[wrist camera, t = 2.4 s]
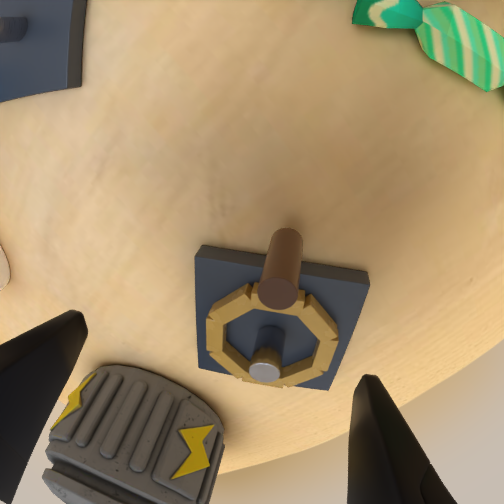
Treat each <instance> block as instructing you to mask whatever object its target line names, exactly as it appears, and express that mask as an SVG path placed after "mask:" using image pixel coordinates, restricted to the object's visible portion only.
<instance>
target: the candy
mask: <svg viewBox="0 0 504 504" xmlns="http://www.w3.org/2000/svg"><path fill="white" fill-rule="evenodd" d="M352 24H360V25H368V26H376V27H383V28H410V29H414V30H415V33H416V35H417V38H418V40H419V43H420V45H421V48H422V50H423V51H424V52H425V53H426V54H427V56H428V57H429V58H431V59H433V60H435V61H437V62H439V63H440V64H442V65H444V66H446V67H447V68H449V69H451V70H453V71H454V72H456V73H458V74H459V75H461V76H463V77H464V78H466V79H467V80H469V81H471V82H472V83H474V84H475V85H477V86H478V87H480V88H481V89H483V90H484V91H486V92H488V91H490V90H493V89H496V88H498V87H501V86H504V38H503V37H502V36H501V35H499V34H498V33H497V32H495V31H494V30H492V29H491V28H490V27H488V26H487V25H485V24H484V23H482V22H481V21H479V20H478V19H476V18H475V17H473V16H472V15H470V14H468V13H467V12H465V11H464V10H462V9H460V8H459V7H457V6H455V5H453V4H450V3H448V2H445V1H444V2H441V3H437V4H434V5H430V6H427V7H424V8H423V7H422V6H421V5H420V4H419V2H418V1H417V0H357V3H356V6H355V9H354V13H353V17H352Z"/></svg>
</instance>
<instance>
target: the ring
mask: <svg viewBox="0 0 504 504" xmlns="http://www.w3.org/2000/svg"><path fill="white" fill-rule="evenodd" d="M302 247H303V240H302V237H301V235H300V234H299V233H298V232H297V231H296V230H294V229H292V228H281V229H279V230H277V231H276V232H275V233H274V234H273V236H272V238H271V242H270V246H269V249H268V253H267V256H266V260H265V264H264V267H263V271H262V274H261V278H260V282H259V283H258V282H255V283H254V285H253V287H252V286H251V285H250V284H249V283H247V284H246V285H244V286H242V287H241V288H239V289H237V290H236V291H234V292H232V293H231V294H229V295H227V296H225V297H224V298H222V299H220V300H219V301H217V302H215V303H214V304H213V305H212V308H211V309H210V311H209V313H208V316H207V318H206V345H207V350H208V351H210V353H209V355H210V356H211V357H212V358H213V359H215V360H216V361H217V362H218V363H219V364H220V365H222V366H223V367H224V368H225V369H226V370H227V371H229V372H230V373H231V374H232V375H233V376H235V377H236V378H240V377H242V381H245V382H250V383H255V384H261V385H266V386H272V387H278V388H283V386H284V384H285V385H286V386H287V387H291V386H294V385H297V384H299V383H302V382H305V381H308V380H310V379H313V378H315V377H318V376H320V375H323V371H327V370H328V368H329V365H330V363H331V360H332V358H333V355H334V352H335V350H336V347H337V344H338V342H339V337H338V329H337V324H336V323H335V322H334V320H333V319H332V318H331V317H330V316H329V314H328V313H327V312H326V311H325V310H324V308H323V307H322V306H321V305H320V304H319V302H318V301H317V300H316V299H315V298H314V296H313V295H312V294H309V295H307V296H305V290H300V289H299V280H300V270H301V259H302ZM252 309H259V310H265V311H271V312H277V313H283V314H289V315H295V316H298V317H299V319H300V320H301V321H302V322H303V323H304V324H305V325H306V326H307V327H308V328H309V330H310V331H311V332H312V333H313V334H314V335H315V336H316V337H317V338H318V339H317V343H316V346H315V349H314V352H313V355H312V356H310V357H308V358H305V359H303V360H301V361H298V362H296V363H293V364H291V365H288V366H286V367H281V372H280V377H279V378H278V379H277V380H276V381H274V382H269V383H264V382H259V381H257V380H255V379H253V378H252V377H251V376H250V374H249V371H248V370H249V366H250V361H248V360H247V359H246V358H245V357H244V356H243V355H241V354H240V353H239V352H238V351H237V350H236V349H235V348H234V347H233V346H231V345H230V344H229V343H228V342H227V341H226V331H227V323H228V322H230V321H232V320H234V319H235V318H237V317H239V316H241V315H243V314H245V313H247V312H249V311H250V310H252Z"/></svg>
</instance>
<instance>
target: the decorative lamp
mask: <svg viewBox="0 0 504 504" xmlns="http://www.w3.org/2000/svg"><path fill="white" fill-rule="evenodd" d="M68 399H69V402H68V404H67V406H66V407H65V409H64V411H63V412H62V414H61V415H60V417H59V418H58V419H57V421H56V422H55V423H54V425H53V426H52V427H51V429H50V430H51V432H50V434H49V441H50V443H49V445H48V447H47V449H46V450H45V452H46V455H47V457H48V459H49V460H50V461H51V462H52V463H53V464H54V465H53V467H52V469H45V471H44V474H43V475H42V479H43V480H44V482H45V483H46V485H47V486H48V487H49V489H50V490H51V491H52V493H53V494H55V495H56V496H57V497H58V498H60V499H61V500H62V501H63V502H65V503H66V504H209V501H210V498H211V494H212V491H213V487H214V484H215V480H216V476H217V473H218V470H219V466H220V463H221V459H222V455H223V452H224V448H225V444H223V439H224V438H223V433H224V428H223V425H222V423H221V421H220V419H219V417H218V416H217V415H216V413H215V412H214V411H213V410H212V409H211V408H210V407H209V406H208V405H207V404H206V403H205V402H204V401H203V400H201V399H200V398H198V397H197V396H196V395H194V394H193V393H191V392H190V391H188V390H187V389H186V388H184V387H182V386H180V385H178V384H176V383H174V382H172V381H170V380H168V379H166V378H164V377H162V376H160V375H157V374H154V373H151V372H148V371H145V370H142V369H139V368H134V367H128V366H122V365H112V366H104V367H100V368H98V369H97V370H96V371H94V372H91V373H90V374H88V375H87V376H86V377H85V378H84V379H83V380H82V382H81V383H80V385H79V387H78V388H76V389H75V390H74V391H73V392H72V393H71V394H70V395H69V396H68Z"/></svg>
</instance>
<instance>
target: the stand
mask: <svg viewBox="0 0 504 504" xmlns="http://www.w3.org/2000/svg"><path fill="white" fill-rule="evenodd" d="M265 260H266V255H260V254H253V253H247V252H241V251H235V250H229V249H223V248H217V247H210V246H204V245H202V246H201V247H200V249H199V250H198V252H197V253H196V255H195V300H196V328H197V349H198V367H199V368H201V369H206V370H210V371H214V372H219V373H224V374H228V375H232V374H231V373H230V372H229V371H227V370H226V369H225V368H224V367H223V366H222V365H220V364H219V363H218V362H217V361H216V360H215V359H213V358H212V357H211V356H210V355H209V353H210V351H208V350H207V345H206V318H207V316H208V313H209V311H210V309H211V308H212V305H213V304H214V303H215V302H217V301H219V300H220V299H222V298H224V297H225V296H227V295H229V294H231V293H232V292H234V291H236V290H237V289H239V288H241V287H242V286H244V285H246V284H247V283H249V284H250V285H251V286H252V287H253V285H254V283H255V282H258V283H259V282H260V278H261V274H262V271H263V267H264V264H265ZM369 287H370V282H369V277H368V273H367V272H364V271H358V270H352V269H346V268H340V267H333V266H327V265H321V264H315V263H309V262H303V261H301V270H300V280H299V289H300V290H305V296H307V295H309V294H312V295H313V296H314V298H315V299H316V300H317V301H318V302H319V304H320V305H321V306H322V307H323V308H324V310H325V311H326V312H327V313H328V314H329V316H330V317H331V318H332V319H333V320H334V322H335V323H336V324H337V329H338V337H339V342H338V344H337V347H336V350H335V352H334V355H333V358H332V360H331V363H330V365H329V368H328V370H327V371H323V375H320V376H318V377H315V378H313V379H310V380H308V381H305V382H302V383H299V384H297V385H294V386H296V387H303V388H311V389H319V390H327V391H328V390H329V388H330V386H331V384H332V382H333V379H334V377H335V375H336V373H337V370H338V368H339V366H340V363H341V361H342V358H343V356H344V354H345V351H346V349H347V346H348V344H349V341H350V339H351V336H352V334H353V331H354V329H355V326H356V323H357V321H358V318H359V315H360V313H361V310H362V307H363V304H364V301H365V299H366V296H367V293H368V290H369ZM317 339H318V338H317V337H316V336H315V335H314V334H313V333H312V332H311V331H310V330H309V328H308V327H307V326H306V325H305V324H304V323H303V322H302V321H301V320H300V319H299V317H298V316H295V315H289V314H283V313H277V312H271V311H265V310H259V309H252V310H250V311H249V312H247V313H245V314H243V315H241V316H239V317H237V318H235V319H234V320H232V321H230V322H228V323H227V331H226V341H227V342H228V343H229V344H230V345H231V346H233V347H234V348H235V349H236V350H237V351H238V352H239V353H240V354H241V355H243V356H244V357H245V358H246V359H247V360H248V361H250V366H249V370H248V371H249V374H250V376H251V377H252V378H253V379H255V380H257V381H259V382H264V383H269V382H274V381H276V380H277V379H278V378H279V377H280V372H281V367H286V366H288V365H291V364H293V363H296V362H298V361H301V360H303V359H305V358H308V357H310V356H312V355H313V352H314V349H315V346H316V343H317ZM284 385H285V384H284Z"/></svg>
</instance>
